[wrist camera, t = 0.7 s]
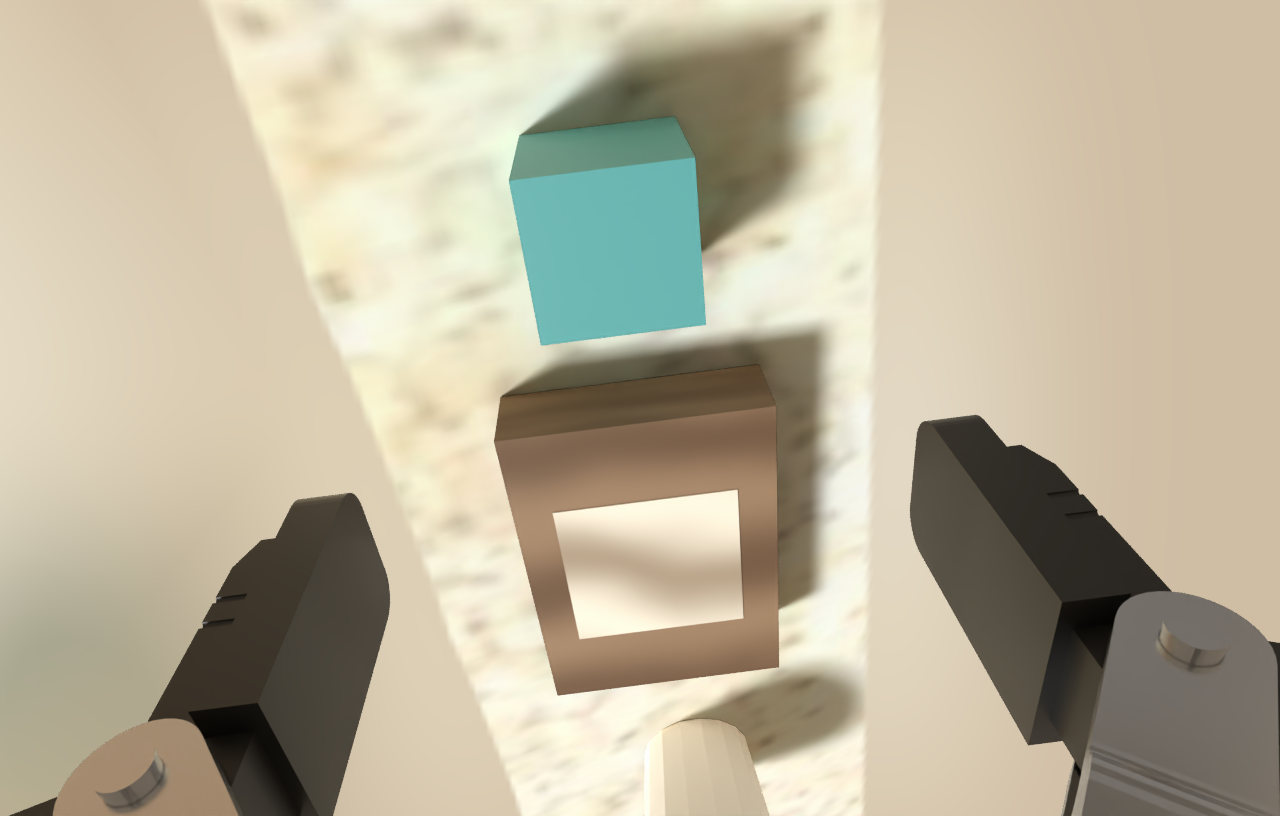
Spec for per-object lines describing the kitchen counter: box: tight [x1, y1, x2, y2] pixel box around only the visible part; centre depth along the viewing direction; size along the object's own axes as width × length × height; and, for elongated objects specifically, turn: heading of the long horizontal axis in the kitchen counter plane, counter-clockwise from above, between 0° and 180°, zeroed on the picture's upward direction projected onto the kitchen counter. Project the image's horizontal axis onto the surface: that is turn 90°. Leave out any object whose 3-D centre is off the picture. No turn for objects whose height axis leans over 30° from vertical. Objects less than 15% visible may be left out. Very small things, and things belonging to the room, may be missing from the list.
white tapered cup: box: [644, 718, 769, 816], centre depth 40 cm, size 7×7×7 cm
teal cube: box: [509, 116, 706, 345], centre depth 24 cm, size 5×5×5 cm
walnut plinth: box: [494, 365, 779, 695], centre depth 33 cm, size 14×10×3 cm
